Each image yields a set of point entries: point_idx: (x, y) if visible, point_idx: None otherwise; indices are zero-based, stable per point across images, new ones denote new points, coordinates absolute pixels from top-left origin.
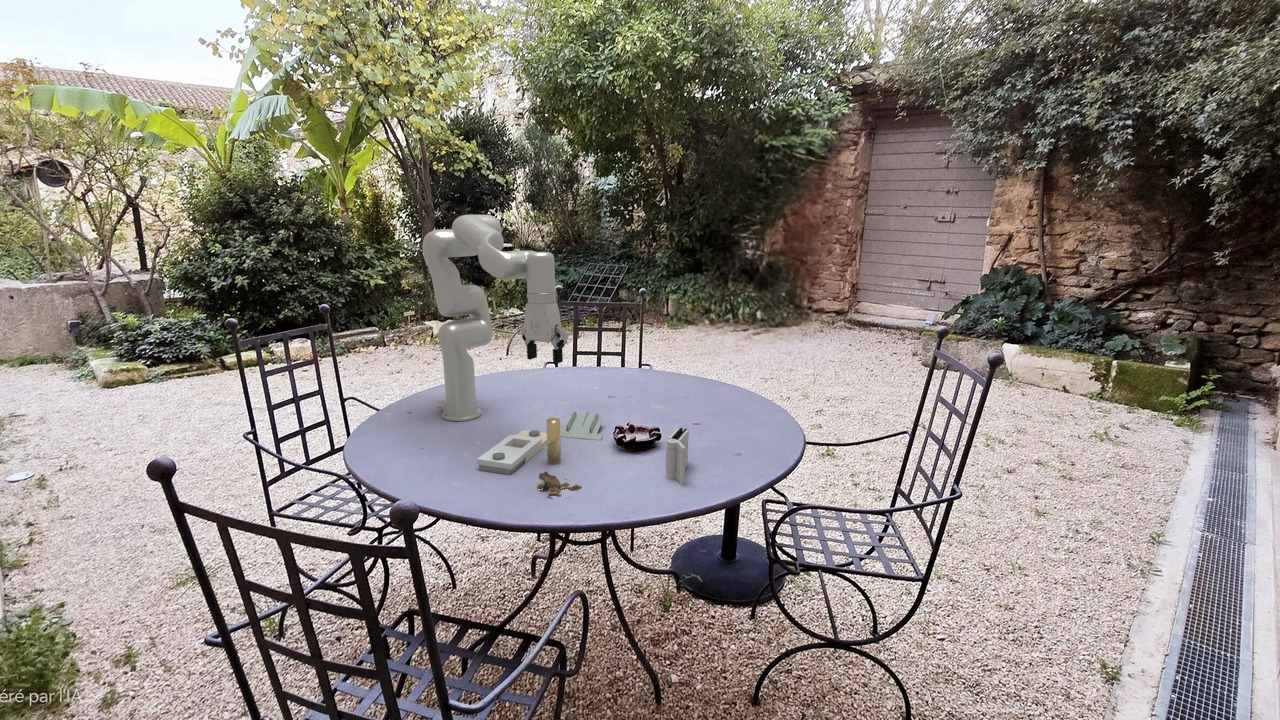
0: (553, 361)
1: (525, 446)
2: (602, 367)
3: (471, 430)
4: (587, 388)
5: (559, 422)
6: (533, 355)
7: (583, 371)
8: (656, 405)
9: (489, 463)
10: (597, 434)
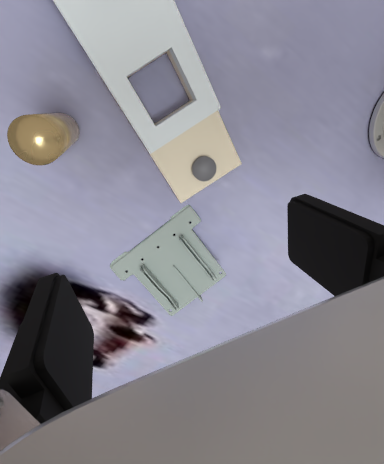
0: (51, 279)
1: (131, 91)
2: None
3: (331, 84)
4: None
5: (16, 152)
6: (299, 241)
7: None
8: None
9: None
10: (129, 273)
